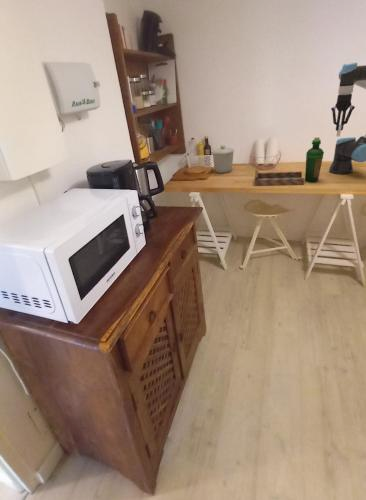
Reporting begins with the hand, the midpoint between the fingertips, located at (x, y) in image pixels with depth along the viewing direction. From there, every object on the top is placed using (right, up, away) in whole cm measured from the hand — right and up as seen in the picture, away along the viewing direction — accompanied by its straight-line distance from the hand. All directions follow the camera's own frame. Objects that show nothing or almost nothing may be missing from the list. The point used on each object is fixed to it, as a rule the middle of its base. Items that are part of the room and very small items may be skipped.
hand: (338, 136), depth 184 cm
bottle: (-9, -24, +18) cm, 31 cm away
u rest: (-30, -23, +23) cm, 45 cm away
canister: (-65, -7, +57) cm, 86 cm away
